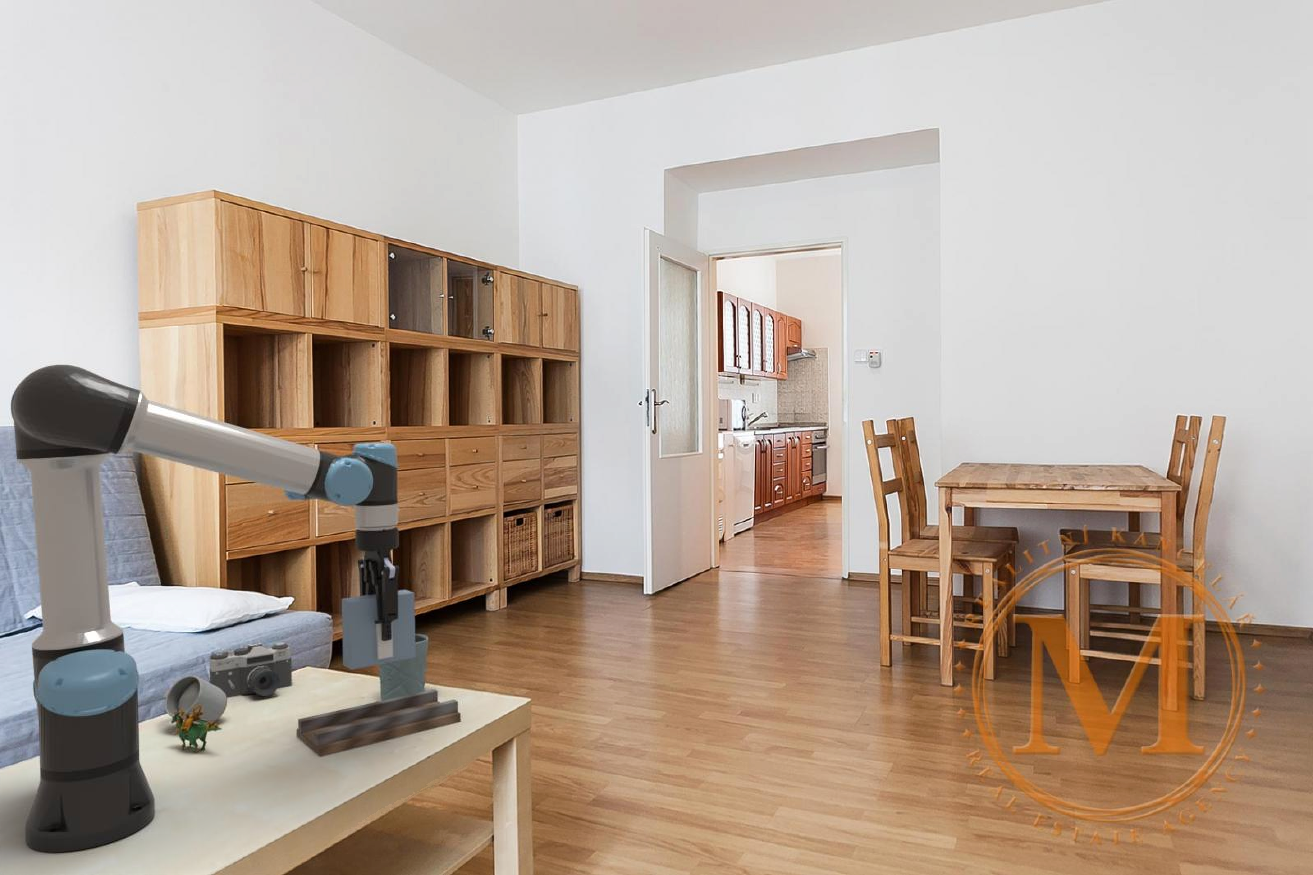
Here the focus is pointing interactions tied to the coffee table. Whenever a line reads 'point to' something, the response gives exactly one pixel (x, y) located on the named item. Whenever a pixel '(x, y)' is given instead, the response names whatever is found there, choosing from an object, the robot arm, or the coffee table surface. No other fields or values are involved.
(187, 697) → the ceramic mug
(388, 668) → the grey green cup
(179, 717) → the figurine
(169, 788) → the coffee table surface
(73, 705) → the robot arm
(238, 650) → the camera
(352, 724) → the door track
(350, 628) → the door panel
